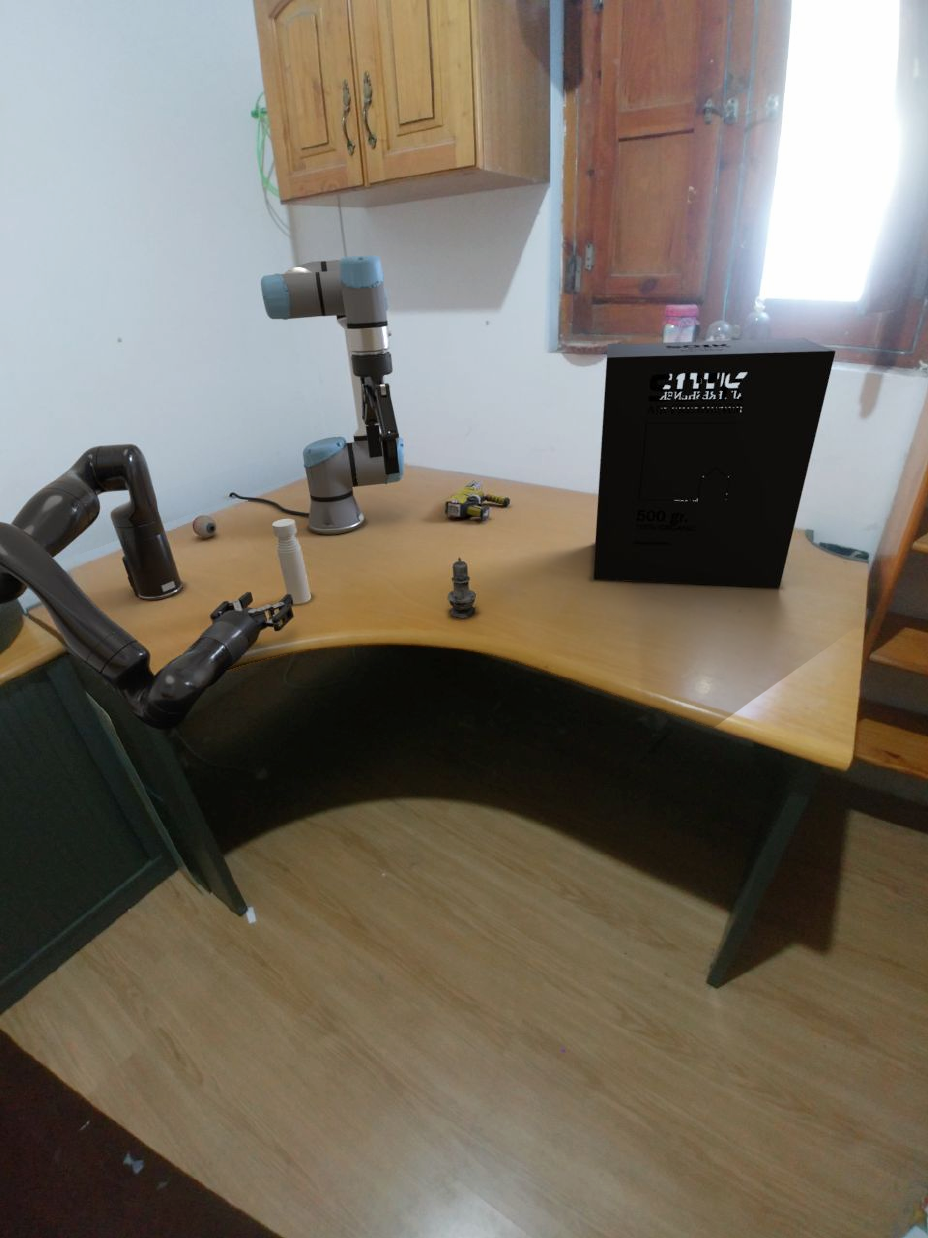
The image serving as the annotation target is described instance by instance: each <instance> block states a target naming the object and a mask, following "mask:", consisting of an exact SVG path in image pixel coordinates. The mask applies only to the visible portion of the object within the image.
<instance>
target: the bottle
mask: <svg viewBox="0 0 928 1238" xmlns="http://www.w3.org/2000/svg"><path fill="white" fill-rule="evenodd" d="M276 550H277V555H278V559H279V564H280V570H281V573H282V577H283V582H284V586H285V590H286V594H291V597H292V599H293V605H303V604H306V603H308V602H309V601H311V598H312V596H311V590H310V586H309V581H308V576H307V570H306V566H305V561H304V556H303V551H302V546H301V543H300V542H299V540H298V538H297V537H296V535H295V534H294V535H292V536H289V537H277V547H276Z"/></svg>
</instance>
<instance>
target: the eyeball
mask: <svg viewBox="0 0 928 1238" xmlns="http://www.w3.org/2000/svg"><path fill="white" fill-rule="evenodd" d="M192 529H193V532H194V533H195V534H196V535H197V536H198V537H201V538H210V537H212V536H214V535H215V533H216V531H217V523H216V521H215V520H214V519H213V518H212V517H211V516H208V515H204V514H203V515H199V516H197V517H196V518H195V519H194V520H193V521H192Z"/></svg>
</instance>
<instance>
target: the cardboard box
mask: <svg viewBox="0 0 928 1238" xmlns="http://www.w3.org/2000/svg"><path fill="white" fill-rule="evenodd" d="M835 356H836V350H834V349H831V348H829V347H827V346H824V345H821V344H819V343H816V342H814V341H812V340H810V339H806V338H804V337H799V338H798V337H797V338H796V337H795V338H794V337H793V338H767V339H766V338H765V339H737V340H736V339H735V340H732V339H731V340H707V341H705V340H703V341H675V342H672V341H671V342H670V341H669V342H648V343H647V342H646V343H645V342H644V343H643V342H642V343H639V342H638V343H613V344H612V343H611V344H609V343H607V349H606V363H605V364H606V365H605V367H606V368H605V381H604V396H603V411H602V412H603V413H602V429H601V444H600V445H601V446H600V461H599V477H598V479H599V480H598V494H597V507H596V508H597V509H596V511H597V512H596V523H595V524H596V525H595V538H594V539H595V540H594V559H593V561H594V562H593V579H592V580H595V581H612V582H613V581H616V582H617V581H618V582H636V583H638V582H639V583H660V584H661V583H662V584H680V585H681V584H682V585H683V584H684V585H706V586H726V587H727V586H729V587H748V588H749V587H750V588H751V587H752V588H770V589H771V588H772V589H780V588H781V583H782V579H783V575H784V571H785V567H786V562H787V558H788V554H789V550H790V545H791V542H792V539H793V538H792V537H793V533H794V529H795V524H796V521H797V516H798V512H799V507H800V505H801V504H800V503H801V499H802V495H803V491H804V488H805V487H804V486H805V483H806V478H807V475H808V474H807V473H808V469H809V465H810V461H811V457H812V452H813V450H814V449H813V448H814V444H815V441H816V437H817V431H818V428H819V423H820V420H821V415H822V410H823V407H824V402H825V398H826V393H827V389H828V385H829V381H830V377H831V372H832V368H833V365H834V360H835ZM741 373H746V374H745V375H744V377H741V378H738V376H739V374H741ZM682 374H684V378H683V381H682V385H681V386H682V388H678V385H679V384H678V383H679V379H678V377H679V376H680V375H682ZM692 374H696V378H695V379H694V378H691V376H692ZM706 374H707V378H705V375H706ZM723 375H724V376H723ZM727 377H729V378H728V381H727V382H728V385H729V384H731V385H732V384H738V385H737V387H727V385H726V379H727ZM722 379H723V380H722ZM694 384H696V385H697V384H698V387H695V388H694ZM708 384H713V388H712V387H711V388H710V387H709V388H708ZM666 386H668V387H669V388H665V387H666Z"/></svg>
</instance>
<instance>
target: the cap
mask: <svg viewBox="0 0 928 1238" xmlns="http://www.w3.org/2000/svg"><path fill="white" fill-rule="evenodd" d="M271 526H272V530H273V535H274V536H275V537H276V538H279V537H289V536H292V535H294V536H295V535H296V534H297V532H298V530H297V529H298V528H297V524H296V521H295V519H293V518H282V519H278V520H275V521H273V523H272V525H271Z"/></svg>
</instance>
